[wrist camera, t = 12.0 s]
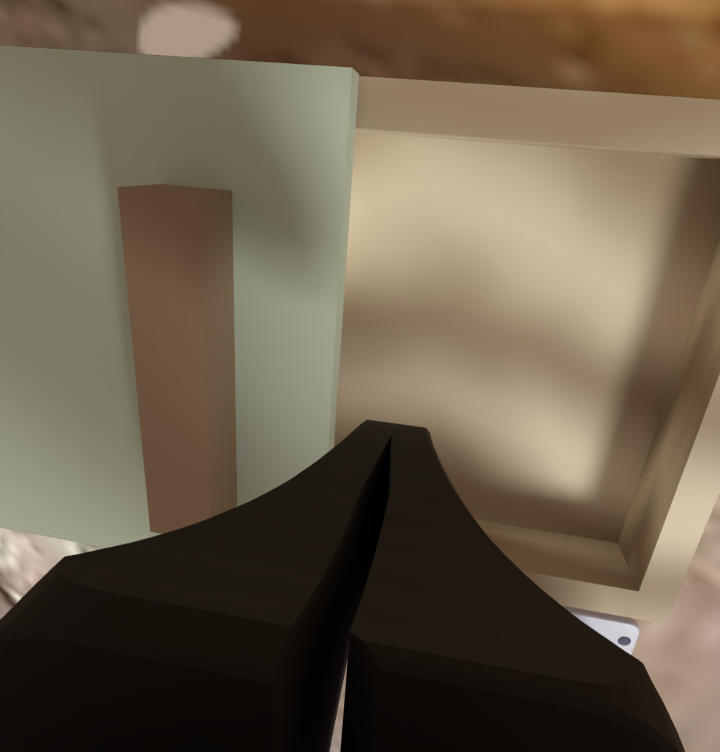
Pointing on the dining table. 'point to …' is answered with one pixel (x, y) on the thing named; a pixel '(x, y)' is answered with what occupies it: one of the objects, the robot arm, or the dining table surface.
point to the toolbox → (545, 319)
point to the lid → (166, 284)
